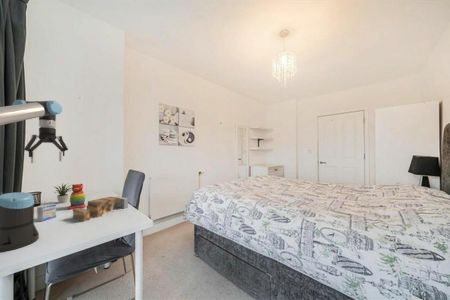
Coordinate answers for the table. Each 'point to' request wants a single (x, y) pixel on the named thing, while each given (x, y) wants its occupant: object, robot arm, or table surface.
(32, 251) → the table surface
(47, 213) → the medicine box
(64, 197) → the house plant
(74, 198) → the stacking bear
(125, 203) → the block
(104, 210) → the skid
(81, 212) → the bed
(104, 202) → the slab
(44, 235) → the table surface
